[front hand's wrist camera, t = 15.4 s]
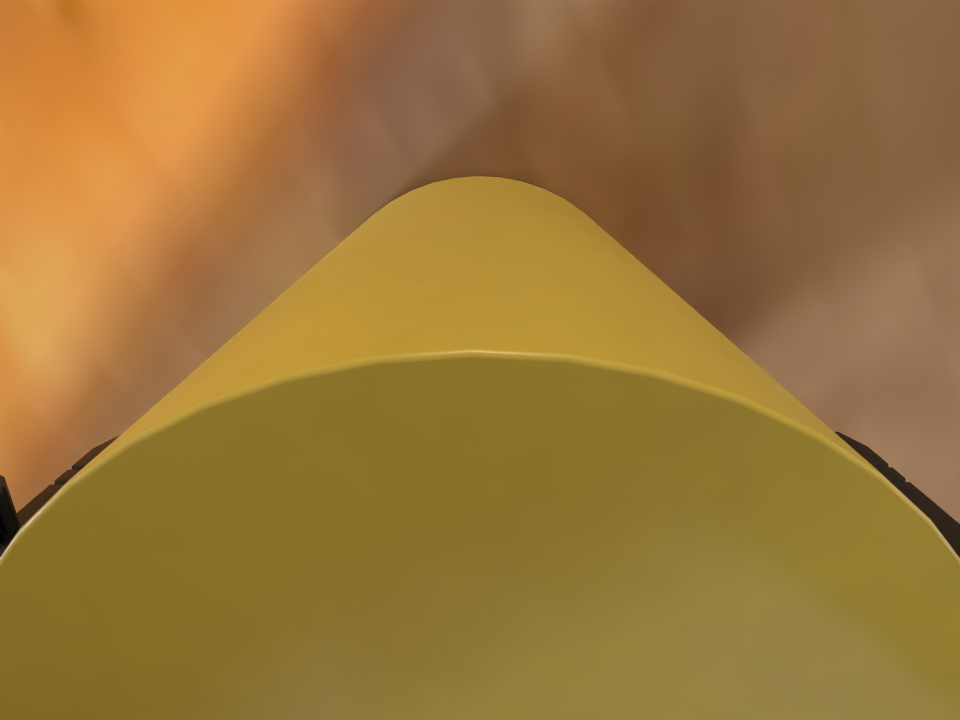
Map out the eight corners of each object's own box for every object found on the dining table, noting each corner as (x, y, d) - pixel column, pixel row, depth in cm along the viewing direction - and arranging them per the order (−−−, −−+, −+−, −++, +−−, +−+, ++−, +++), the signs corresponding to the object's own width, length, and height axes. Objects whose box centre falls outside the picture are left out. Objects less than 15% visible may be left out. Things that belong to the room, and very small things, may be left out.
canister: (271, 396, 17) (-146, 945, 6) (410, 107, 15) (144, 54, 3) (533, 521, 19) (618, 1151, 7) (704, 281, 16) (1266, 685, 5)
